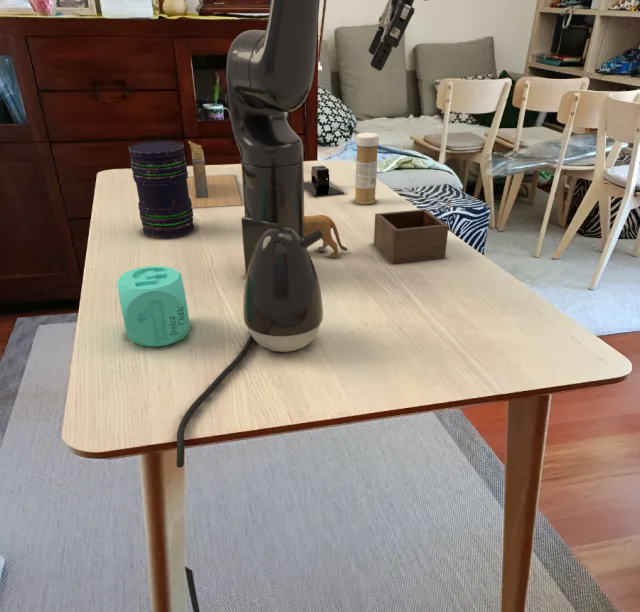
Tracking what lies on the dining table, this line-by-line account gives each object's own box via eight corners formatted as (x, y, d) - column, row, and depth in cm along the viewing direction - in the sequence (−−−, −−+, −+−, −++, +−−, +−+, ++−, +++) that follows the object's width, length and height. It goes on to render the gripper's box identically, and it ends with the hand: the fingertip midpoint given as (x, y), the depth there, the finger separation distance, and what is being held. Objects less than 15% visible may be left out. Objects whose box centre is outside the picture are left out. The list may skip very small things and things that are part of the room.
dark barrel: (158, 242, 111) (144, 155, 102) (133, 229, 117) (117, 146, 108) (205, 230, 117) (195, 146, 108) (178, 218, 122) (167, 138, 114)
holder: (444, 258, 104) (448, 225, 101) (392, 264, 102) (394, 230, 99) (422, 239, 112) (425, 209, 109) (373, 244, 110) (375, 213, 107)
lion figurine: (263, 259, 104) (260, 206, 99) (264, 248, 108) (261, 197, 103) (348, 258, 105) (350, 204, 99) (346, 247, 109) (347, 195, 104)
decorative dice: (130, 351, 78) (117, 293, 74) (127, 324, 85) (116, 269, 80) (192, 342, 80) (184, 285, 76) (185, 316, 86) (177, 262, 82)
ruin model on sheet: (166, 179, 148) (159, 135, 142) (233, 175, 150) (230, 132, 144) (163, 209, 128) (156, 160, 122) (241, 204, 130) (238, 156, 124)
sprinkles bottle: (365, 197, 134) (368, 131, 126) (379, 202, 131) (383, 134, 123) (350, 201, 132) (351, 134, 124) (364, 206, 129) (367, 137, 121)
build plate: (344, 194, 136) (344, 173, 134) (313, 198, 134) (313, 176, 132) (325, 180, 146) (325, 159, 143) (296, 183, 144) (295, 162, 141)
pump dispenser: (334, 354, 77) (335, 236, 68) (254, 367, 75) (244, 246, 66) (312, 320, 85) (311, 210, 76) (239, 330, 83) (229, 218, 74)
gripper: (400, -63, 100) (354, 40, 111) (407, -50, 90) (356, 61, 101) (438, -38, 103) (389, 60, 113) (450, -23, 92) (395, 83, 103)
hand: (374, 61), depth 107 cm, fingers open, 8 cm apart
